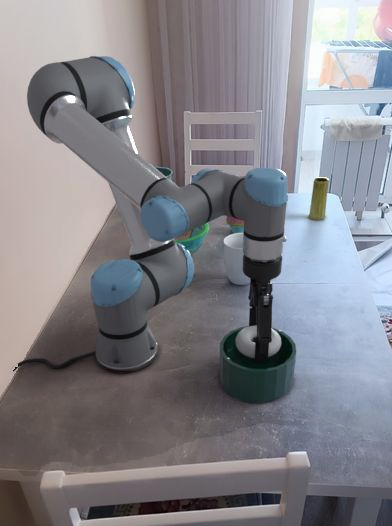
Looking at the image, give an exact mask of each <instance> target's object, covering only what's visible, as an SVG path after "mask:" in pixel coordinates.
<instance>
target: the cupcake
mask: <svg viewBox="0 0 392 526" xmlns="http://www.w3.org/2000/svg"><path fill="white" fill-rule="evenodd" d="M225 222H226V224H227V225H229V229H230V230H231V233H232V234H235V233H243V232H244V221H243V220H239V219H235V218H232V217H229V216H226V219H225Z"/></svg>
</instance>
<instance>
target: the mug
mask: <svg viewBox="0 0 392 526" xmlns="http://www.w3.org/2000/svg"><path fill="white" fill-rule="evenodd" d="M222 244H223V245H222V246H223V247H222V248H223V249H222V252H223V254H222V255H223V267H224V270H225V274H226V276H227V278H228V280H229V281H230V282H231V283H232V284H234V285H237V286H246V285H250V278H249V277H247V276H246V275H245V274H244V273H243V255H244V253H243V233H231V234H229V235H227V236H225V237H224V238H223V243H222Z"/></svg>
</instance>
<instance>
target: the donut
mask: <svg viewBox="0 0 392 526" xmlns="http://www.w3.org/2000/svg"><path fill="white" fill-rule="evenodd" d="M248 326H249V325H248ZM256 336H257V325H254V326H249V327H246V328H244V329H242V330H241V331H240V332H239V333H238V335H237V337H236V339H235V341H236V347H237V348H238V350H239V351H240V352H241V353H242V354H243V355H245V356H248V357H250V358H255V343H254V342H252V341H255V340H253V337H256ZM271 338H272V342H271V343H269V351H268V357H270V356H272V355H274V354H276V353H277V352H278V351H279V349H280V347H281V337H280V336H279V334H278V333H277V332H276V331H275V330H273V329H272V334H271Z"/></svg>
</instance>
